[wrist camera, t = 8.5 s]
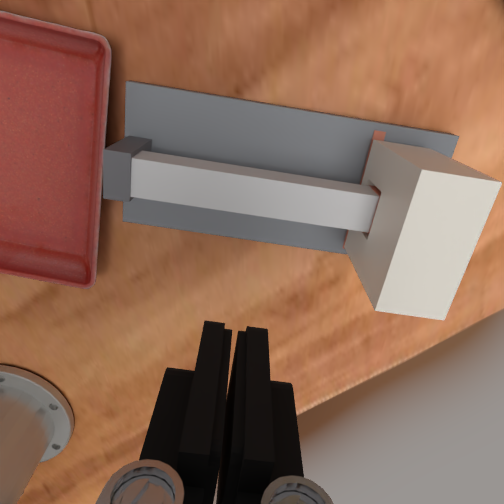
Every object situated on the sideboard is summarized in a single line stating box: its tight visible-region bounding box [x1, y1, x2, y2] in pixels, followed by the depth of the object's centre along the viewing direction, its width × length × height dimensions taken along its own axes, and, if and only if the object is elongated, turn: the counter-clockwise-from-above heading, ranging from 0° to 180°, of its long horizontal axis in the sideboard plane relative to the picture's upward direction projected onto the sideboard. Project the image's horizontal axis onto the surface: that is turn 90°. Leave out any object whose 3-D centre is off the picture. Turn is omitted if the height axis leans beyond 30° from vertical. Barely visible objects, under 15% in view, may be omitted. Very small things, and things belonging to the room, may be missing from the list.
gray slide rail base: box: [103, 81, 459, 254], centre depth 28 cm, size 10×23×6 cm, turn 81°
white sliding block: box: [344, 139, 502, 320], centre depth 25 cm, size 8×4×9 cm, turn 171°
